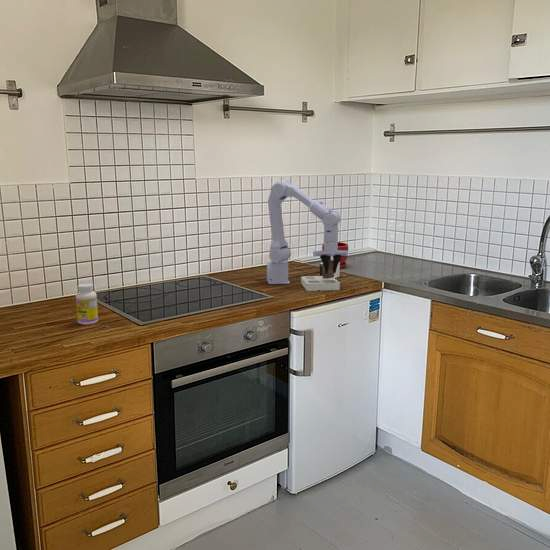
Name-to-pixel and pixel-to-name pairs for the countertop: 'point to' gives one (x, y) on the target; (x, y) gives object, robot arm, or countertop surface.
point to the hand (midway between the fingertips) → (330, 272)
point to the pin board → (320, 283)
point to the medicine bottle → (336, 269)
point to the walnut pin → (330, 269)
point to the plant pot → (342, 247)
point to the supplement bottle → (86, 304)
